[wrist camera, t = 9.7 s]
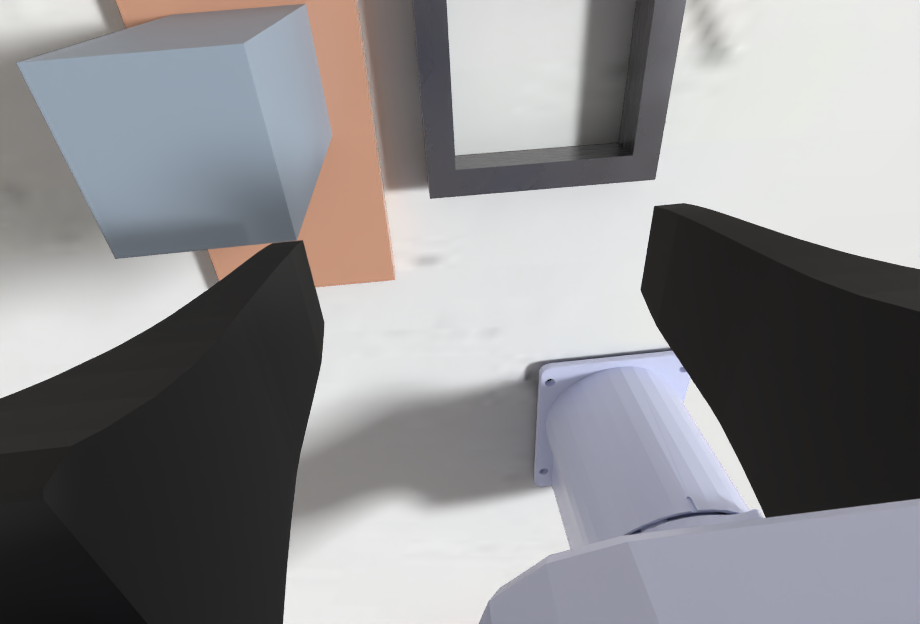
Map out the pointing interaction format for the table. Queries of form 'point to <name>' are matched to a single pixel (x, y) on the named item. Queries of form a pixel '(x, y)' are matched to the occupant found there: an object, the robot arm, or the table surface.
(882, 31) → the table surface
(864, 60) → the table surface
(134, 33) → the metal peg
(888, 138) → the table surface
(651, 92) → the iron collar
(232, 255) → the terracotta tile
